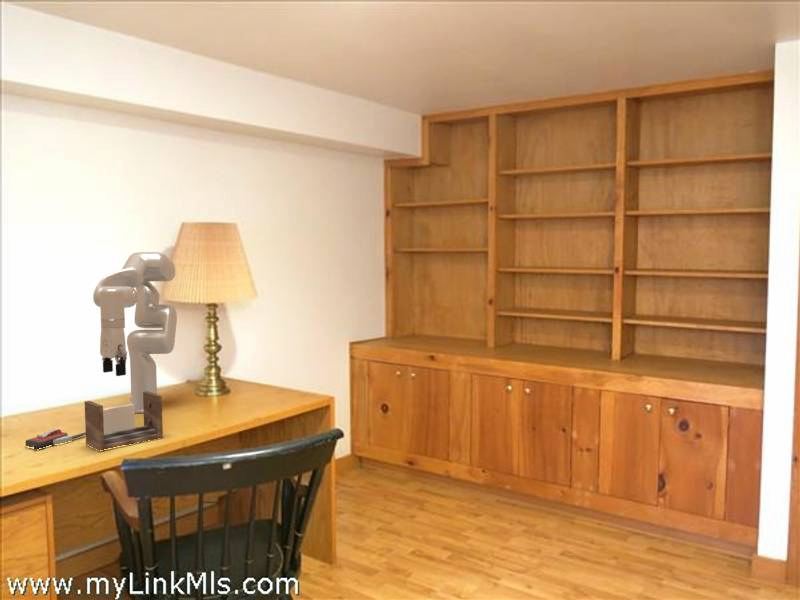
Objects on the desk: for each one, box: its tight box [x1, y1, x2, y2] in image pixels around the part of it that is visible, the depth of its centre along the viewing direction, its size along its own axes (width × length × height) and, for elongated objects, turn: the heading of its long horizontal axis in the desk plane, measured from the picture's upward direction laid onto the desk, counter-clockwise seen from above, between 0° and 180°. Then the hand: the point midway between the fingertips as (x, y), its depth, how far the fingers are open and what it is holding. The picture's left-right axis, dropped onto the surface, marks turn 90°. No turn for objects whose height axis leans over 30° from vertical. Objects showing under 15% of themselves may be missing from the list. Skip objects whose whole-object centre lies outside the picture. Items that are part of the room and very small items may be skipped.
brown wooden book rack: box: [84, 391, 164, 451], centre depth 219 cm, size 21×10×14 cm, turn 137°
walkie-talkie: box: [25, 428, 86, 450], centre depth 219 cm, size 9×4×20 cm
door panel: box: [103, 403, 136, 434], centre depth 229 cm, size 14×4×9 cm, turn 137°
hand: (114, 373), depth 229 cm, fingers open, 9 cm apart
